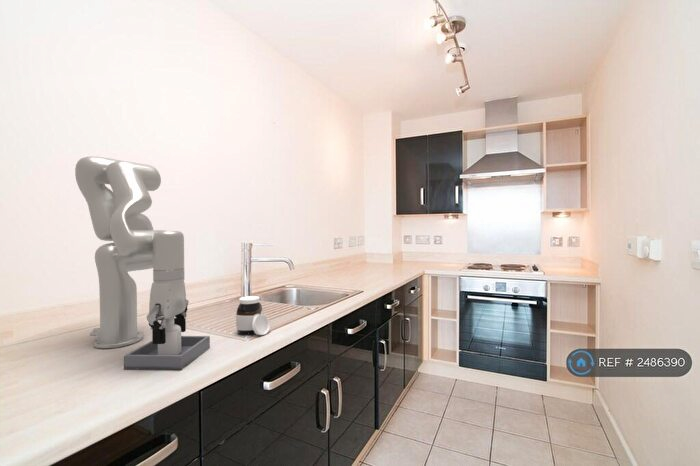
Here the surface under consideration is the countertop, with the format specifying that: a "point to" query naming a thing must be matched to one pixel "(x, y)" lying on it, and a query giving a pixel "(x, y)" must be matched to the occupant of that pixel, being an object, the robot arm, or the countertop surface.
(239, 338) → the countertop surface
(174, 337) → the eye dropper bottle
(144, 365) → the dish
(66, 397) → the countertop surface
